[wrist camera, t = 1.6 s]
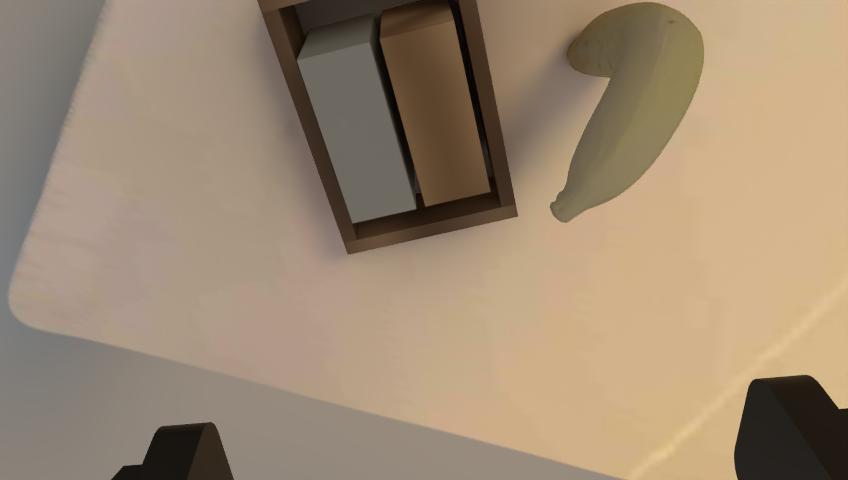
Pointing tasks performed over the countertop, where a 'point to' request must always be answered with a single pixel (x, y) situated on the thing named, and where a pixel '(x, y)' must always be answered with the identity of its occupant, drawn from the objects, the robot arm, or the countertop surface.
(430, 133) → the offcut teak
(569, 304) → the countertop surface
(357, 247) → the wooden tray
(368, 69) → the offcut grey
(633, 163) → the fruit
